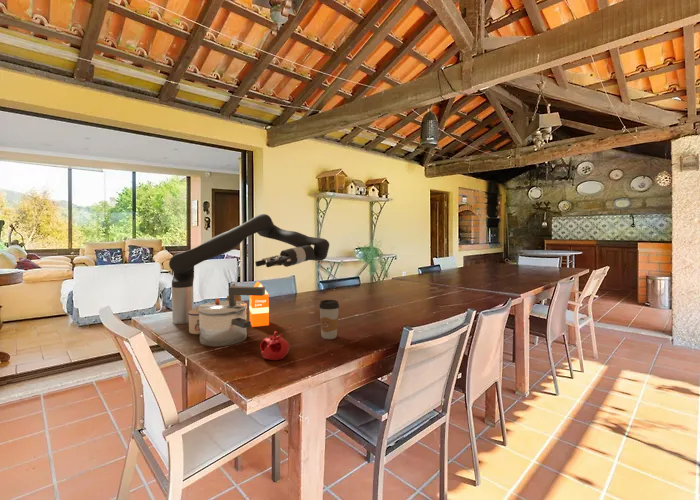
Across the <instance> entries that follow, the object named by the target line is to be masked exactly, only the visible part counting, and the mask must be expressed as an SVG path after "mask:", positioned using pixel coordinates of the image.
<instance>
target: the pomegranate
mask: <svg viewBox="0 0 700 500" xmlns="http://www.w3.org/2000/svg"><path fill="white" fill-rule="evenodd" d="M277 334H278V331H277V330H275V331H274V333H273V335H270V334H268V335H266V337H265V338H263V339H262V341H261V342H260V344H259V349H260V353H261V356H262V358H263V359H265V360H269V361H278V360H283V359H285V357H286V356H287V355H288V353H289V350H290V344H289V342H288V341H287V340H286V339H285V337H282V336H284V333H283V334H279V335H277Z"/></svg>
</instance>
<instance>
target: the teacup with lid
mask: <svg viewBox="0 0 700 500" xmlns="http://www.w3.org/2000/svg"><path fill="white" fill-rule="evenodd" d="M200 305H201V304H197V306H196V307H194V309H193V310H190V311H189V312H188V314H189V323H188V333H190V335H191V334H192V335H200V325H199V312H198V307H199V306H200Z"/></svg>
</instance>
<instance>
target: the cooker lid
mask: <svg viewBox="0 0 700 500" xmlns="http://www.w3.org/2000/svg"><path fill="white" fill-rule="evenodd" d="M227 290H228V295H229V301H227V300H220V298H214V301H212V302H210V301H209V302H206V303H203V304H199V305H200V306H199V307H198V312H199V313H202V314H208V315H223V314H232V313H237V312H241V311H244V310H246V311H247V308H248V303H247V302H245V301H242V300H241V301H236V295H240V296H249V295H254V296H263V295H265V290H266V287H265V286H263V287H254V286H241V285H240V286H236V285H235V286H232V285H231V286H229V287H228V289H227Z"/></svg>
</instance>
